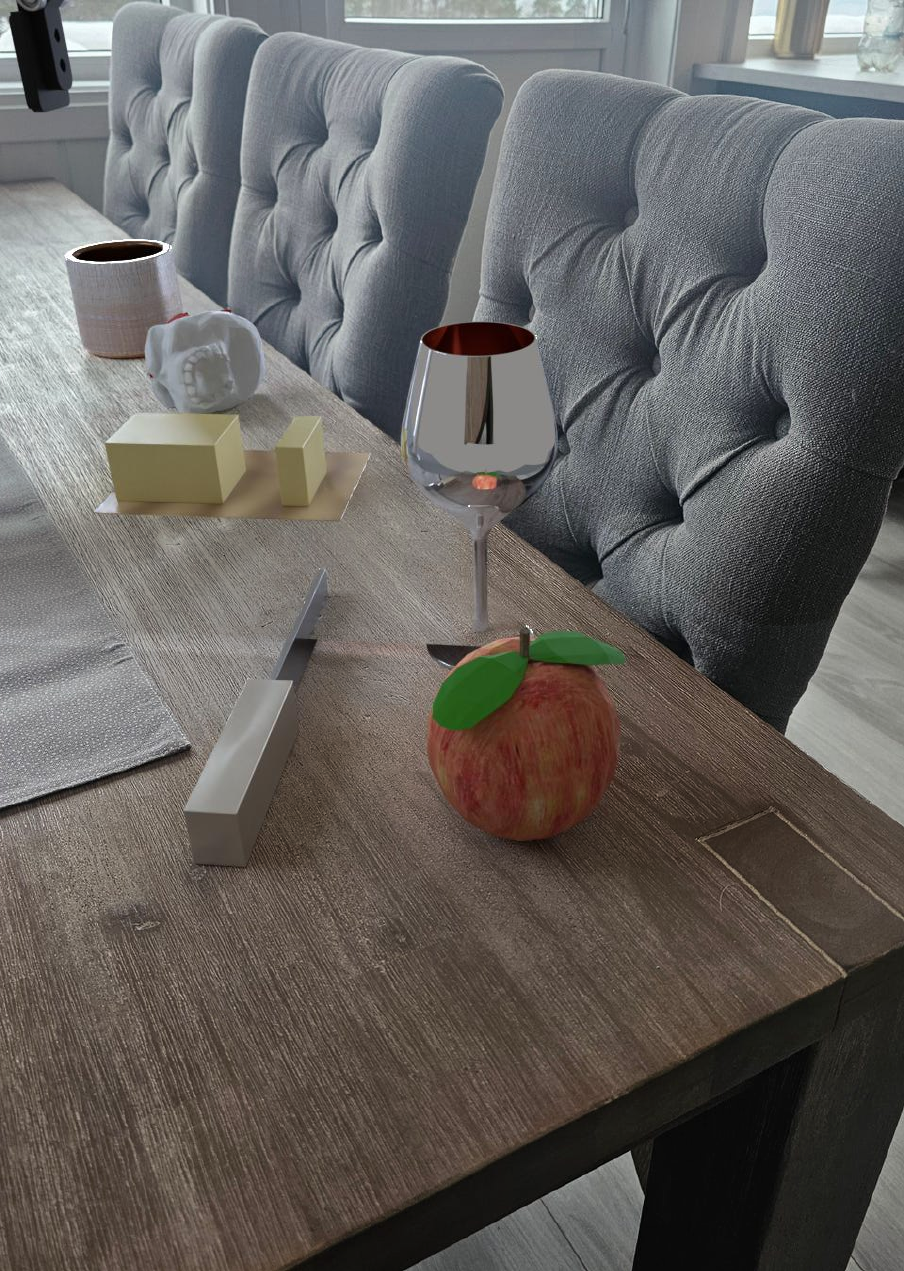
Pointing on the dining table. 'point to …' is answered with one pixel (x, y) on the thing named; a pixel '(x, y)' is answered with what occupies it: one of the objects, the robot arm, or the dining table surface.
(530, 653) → the fruit
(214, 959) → the dining table surface
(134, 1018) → the dining table surface
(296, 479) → the butter slice
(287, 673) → the knife
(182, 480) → the butter block
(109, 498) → the board
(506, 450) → the wineglass
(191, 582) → the dining table surface
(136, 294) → the planter
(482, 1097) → the dining table surface
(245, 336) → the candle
